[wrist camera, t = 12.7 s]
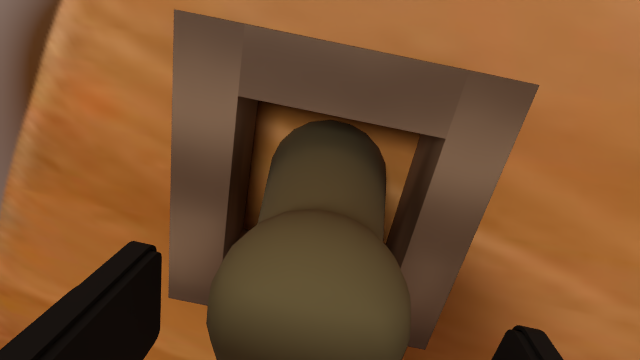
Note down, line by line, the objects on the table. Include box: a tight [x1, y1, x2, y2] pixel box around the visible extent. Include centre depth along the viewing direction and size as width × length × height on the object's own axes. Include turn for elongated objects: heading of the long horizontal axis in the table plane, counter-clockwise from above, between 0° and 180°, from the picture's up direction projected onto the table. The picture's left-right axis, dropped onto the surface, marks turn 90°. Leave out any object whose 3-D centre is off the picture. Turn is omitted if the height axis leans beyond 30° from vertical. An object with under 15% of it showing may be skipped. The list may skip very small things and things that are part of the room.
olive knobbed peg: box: [206, 120, 411, 360], centre depth 12 cm, size 6×6×11 cm
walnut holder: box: [169, 9, 539, 350], centre depth 16 cm, size 13×13×4 cm
